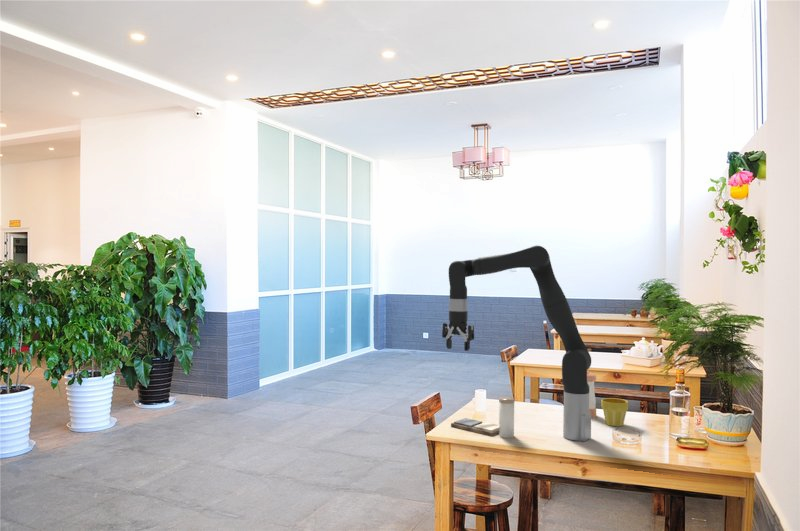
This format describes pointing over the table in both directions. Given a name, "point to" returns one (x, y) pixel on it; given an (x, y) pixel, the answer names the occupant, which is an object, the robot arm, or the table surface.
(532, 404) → the table surface
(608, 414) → the plant pot
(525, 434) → the table surface
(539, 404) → the table surface
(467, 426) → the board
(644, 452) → the table surface
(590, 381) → the pepper shaker
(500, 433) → the tea canister
